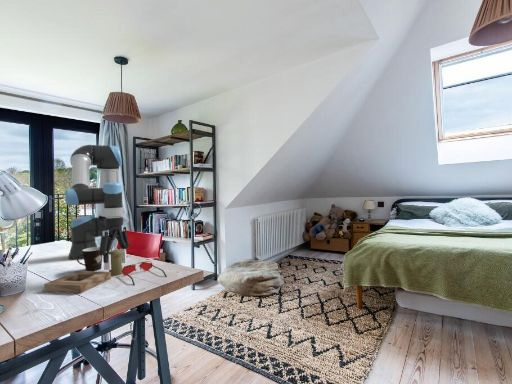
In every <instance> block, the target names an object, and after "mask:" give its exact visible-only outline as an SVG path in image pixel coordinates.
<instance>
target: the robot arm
mask: <svg viewBox="0 0 512 384" xmlns="http://www.w3.org/2000/svg"><path fill="white" fill-rule="evenodd" d="M69 162H70V165H71V167H72V168H71V182H70V183H71V186H70V187H71V188H66V189H65V191H64V199H65V204H66V205H67V206H84V205H100V207H101V209H100V210H101V211H100V213H98V217H95V215H94V214H93V215H91V214H90V215H85V216H80V217H79V216H78V217H75V218H72V220H71V222H70V230H71V231H70V232H71V246H70V251H69V253H68V259H69V260H76V261H77V257H78V256H79V255H83V252H82V250H84V249H87V248H93V247H98V244H97V242H96V238H100V243H99V247H100V249H99V255H102V263H103V268H104V270H105V271H109V270H111V256H110V255H109V252H110V251H111V248H112V245H113V242H114V241H115V239H116V241H117V242H118V245H119V247H120V249H119V250H121V252H122V255H121V262H122V264H126V263H127V249H129V247H130V242H129V238H128V237H129V236H128V233H127V227H126V226H124V207H123V188H122V187H123V186H122V183H120V182H118V179H117V172H118V171H119V170H120V167H122V165H123V162H122V156H121V151H120V148H119V147H118V146H116V145H102V144H100V145H99V144H97V145H96V144H85V145H82V146H80V147H78V148H77V149H76V150H74V151H73V153H71V155H70V160H69ZM91 166H95V167H96V169H97V171H99V179H100V180H99V182H100V183H99V184H100V187H90V186H91V184H90V183H91V182H90V179H91V178H90V167H91ZM102 251H103V252H102ZM79 260H84V257H83V256H80V257H79Z"/></svg>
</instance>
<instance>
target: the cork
mask: <svg viewBox="0 0 512 384" xmlns="http://www.w3.org/2000/svg"><path fill="white" fill-rule="evenodd" d="M109 255H110V256H111V270H108V272H111V277H118V276H121V275H123V274H122V273H123V272H121V271H122V270H123V267H124V266H123V263H122V262H121V255H122V252H121V250H120V249H113V250H110V252H109Z"/></svg>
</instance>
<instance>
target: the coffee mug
mask: <svg viewBox="0 0 512 384" xmlns="http://www.w3.org/2000/svg"><path fill="white" fill-rule="evenodd" d="M99 249H100V246H97V247H93V248H87V249H84V250H82V252H83V255H79V256H78V257H77V259H76V261H77V263H78V264H79V265H82V266H84V267H85V271H99V270H101V269H102V264H103V255H99ZM102 252H103V251H102ZM80 256H83V257H84V259H83V260H84V261H83V262H84V263H82V262H80V259H79V257H80Z"/></svg>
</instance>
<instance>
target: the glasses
mask: <svg viewBox="0 0 512 384" xmlns="http://www.w3.org/2000/svg"><path fill="white" fill-rule="evenodd" d="M137 265H138V267H139V269H140V270H144V271H145V272H149V270H150V269H152V268H156V269H157V270H160V271H162V273H163V275H164V277H165V278H168V275H167V274H166V272H165V271H164V269H161V268H159V267H158V266H156V265H153V263H152V261H150V260H147V261H141V262H138V263H136V264H134V263H132V264H129V265H125V266H122V267H123V270H122V271H121V272H123V273H122V275H123V276H124V277H129V278H130V279H131V282H132V286H135V285H136V284H135V281H134V278H133V277H132V276H131V275H130V274H131V273H134V272H136V271H137V268H136V266H137Z"/></svg>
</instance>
